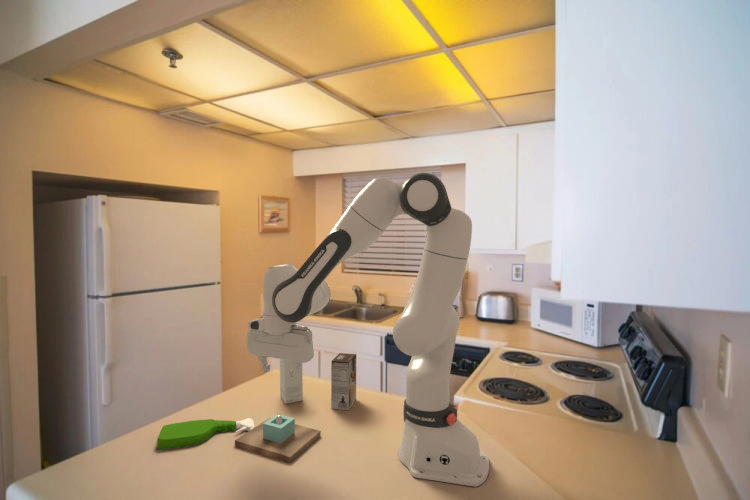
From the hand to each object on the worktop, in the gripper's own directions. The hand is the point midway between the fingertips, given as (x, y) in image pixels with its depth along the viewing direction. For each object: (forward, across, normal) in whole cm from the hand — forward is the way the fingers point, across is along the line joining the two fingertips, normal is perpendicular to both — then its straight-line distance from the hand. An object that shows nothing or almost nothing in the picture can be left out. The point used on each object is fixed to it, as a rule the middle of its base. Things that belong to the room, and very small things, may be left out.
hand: (279, 373), depth 101 cm
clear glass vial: (+18, 0, 0) cm, 18 cm away
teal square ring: (+17, 0, 0) cm, 17 cm away
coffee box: (+19, -5, -28) cm, 34 cm away
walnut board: (+19, 0, 0) cm, 19 cm away
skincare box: (+19, +14, -24) cm, 34 cm away
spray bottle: (+19, +21, +6) cm, 29 cm away
